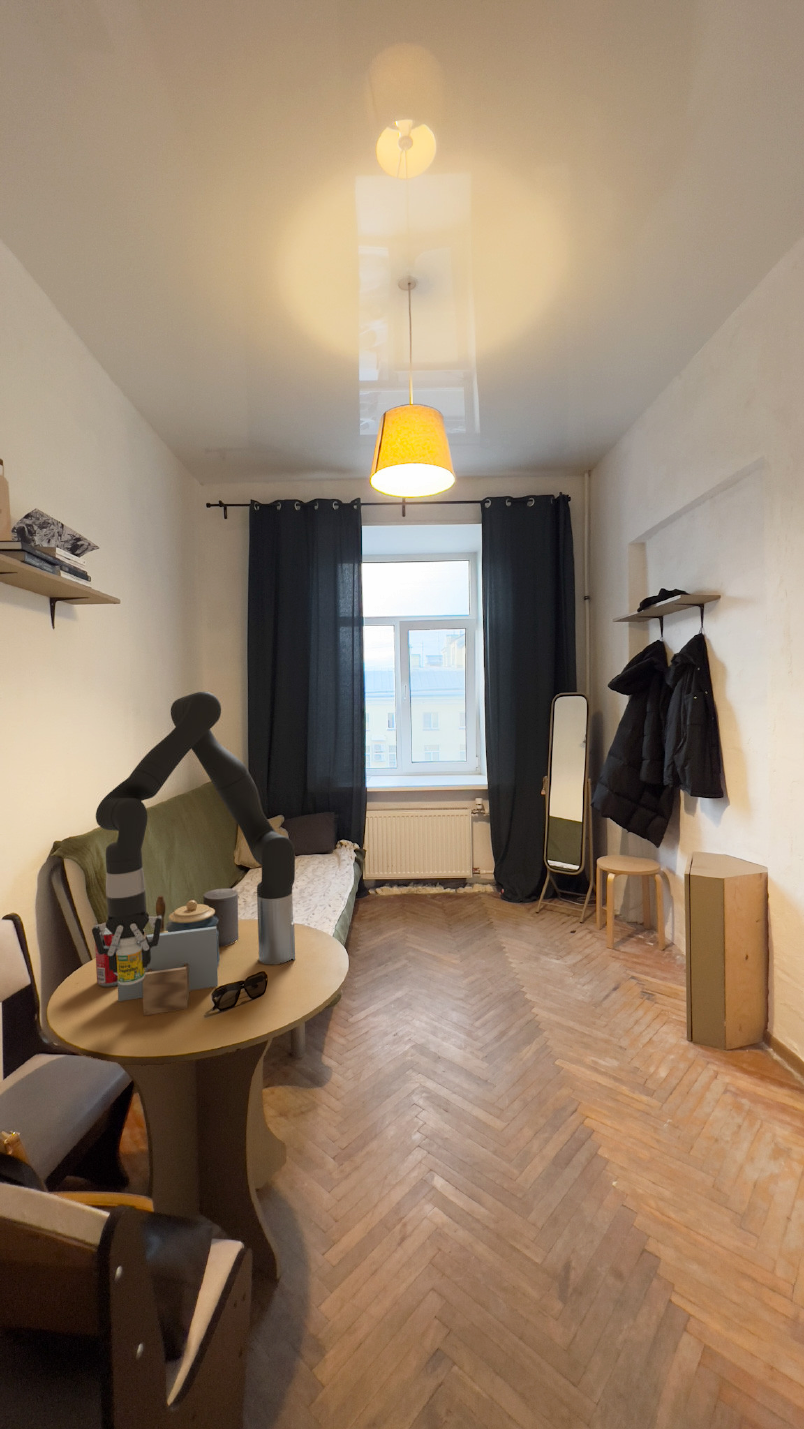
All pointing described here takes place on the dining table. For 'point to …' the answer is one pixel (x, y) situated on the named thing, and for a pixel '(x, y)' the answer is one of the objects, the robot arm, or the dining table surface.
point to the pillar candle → (224, 913)
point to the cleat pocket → (166, 990)
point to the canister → (193, 919)
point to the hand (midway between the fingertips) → (130, 968)
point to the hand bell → (161, 911)
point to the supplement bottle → (129, 961)
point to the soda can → (105, 964)
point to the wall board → (181, 959)
